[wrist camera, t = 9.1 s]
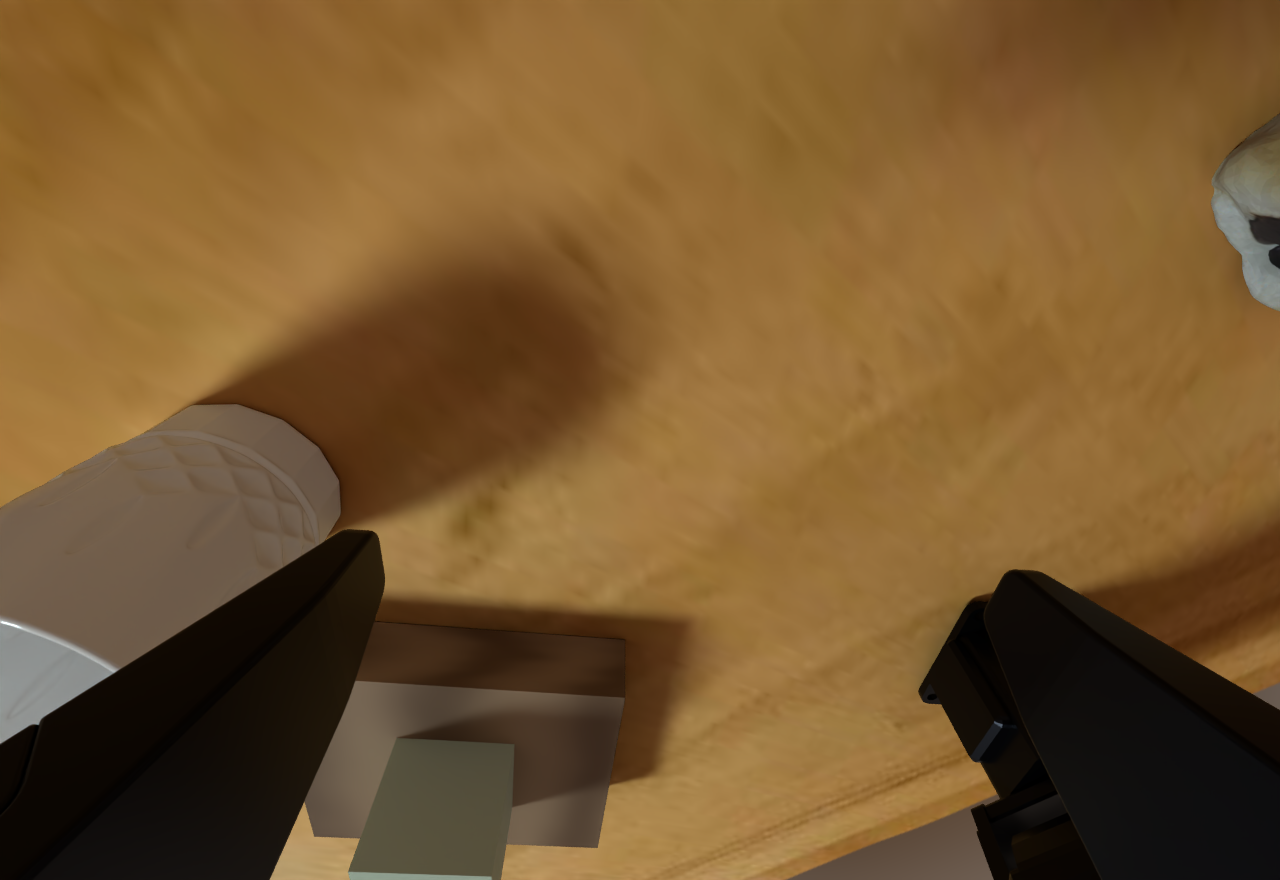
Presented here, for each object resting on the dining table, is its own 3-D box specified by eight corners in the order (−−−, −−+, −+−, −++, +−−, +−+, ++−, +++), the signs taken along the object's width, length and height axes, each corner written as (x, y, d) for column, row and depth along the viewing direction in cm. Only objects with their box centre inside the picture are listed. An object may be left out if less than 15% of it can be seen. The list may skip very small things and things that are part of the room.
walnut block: (624, 639, 26) (625, 697, 24) (599, 788, 32) (597, 847, 30) (306, 616, 25) (269, 675, 22) (340, 775, 31) (314, 836, 28)
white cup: (379, 435, 21) (205, 667, 12) (338, 584, 24) (179, 848, 16) (138, 350, 19) (-271, 552, 10) (131, 524, 22) (-180, 784, 14)
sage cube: (514, 744, 25) (491, 876, 21) (512, 807, 28) (491, 937, 23) (396, 737, 25) (347, 871, 20) (405, 802, 27) (363, 934, 23)
